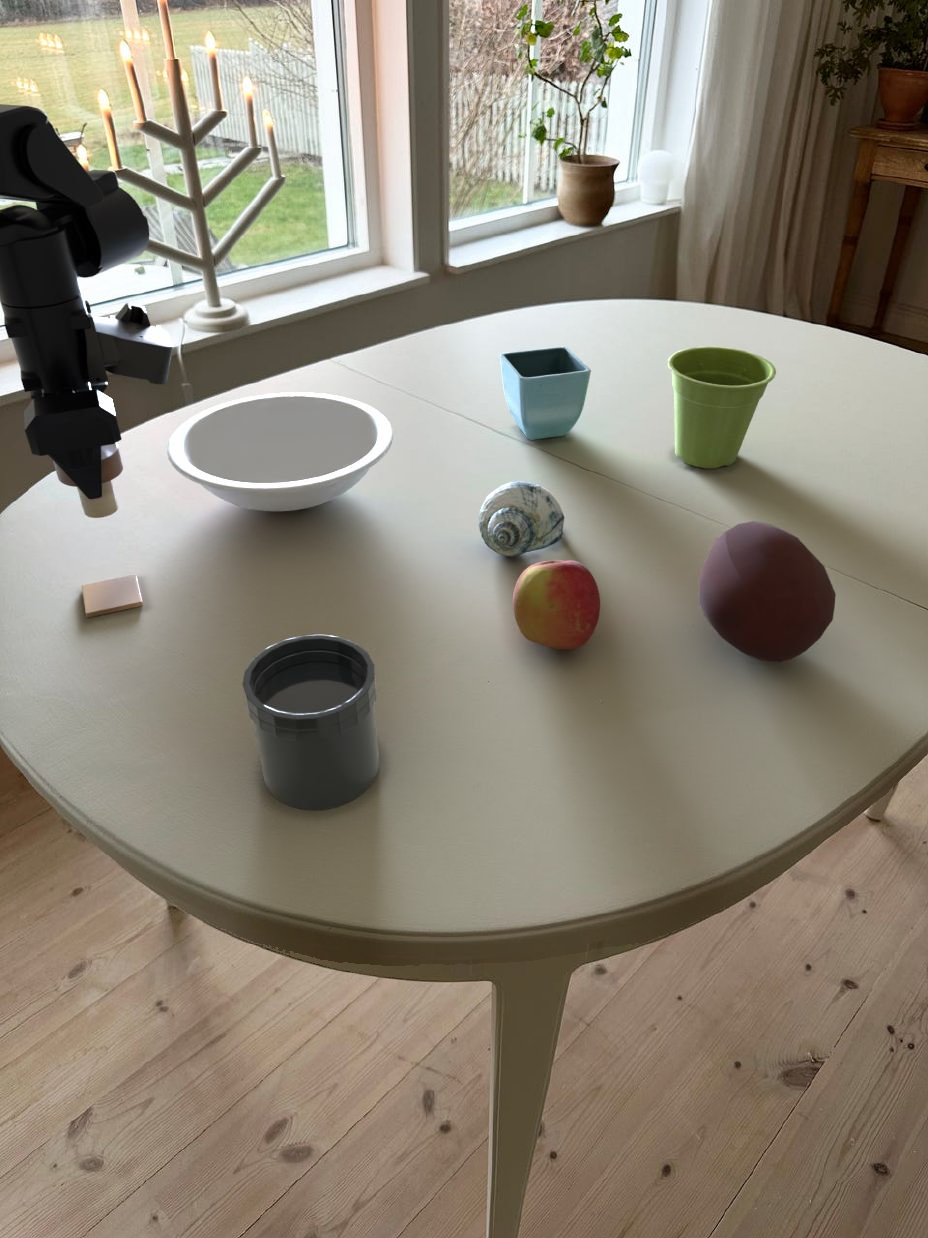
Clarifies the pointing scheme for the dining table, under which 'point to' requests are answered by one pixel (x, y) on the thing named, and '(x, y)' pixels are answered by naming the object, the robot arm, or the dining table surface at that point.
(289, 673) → the container
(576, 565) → the apple
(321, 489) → the soup bowl
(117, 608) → the plate
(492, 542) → the seashell
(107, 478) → the mushroom
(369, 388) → the dining table surface
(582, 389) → the flower pot
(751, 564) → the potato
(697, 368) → the plant pot
